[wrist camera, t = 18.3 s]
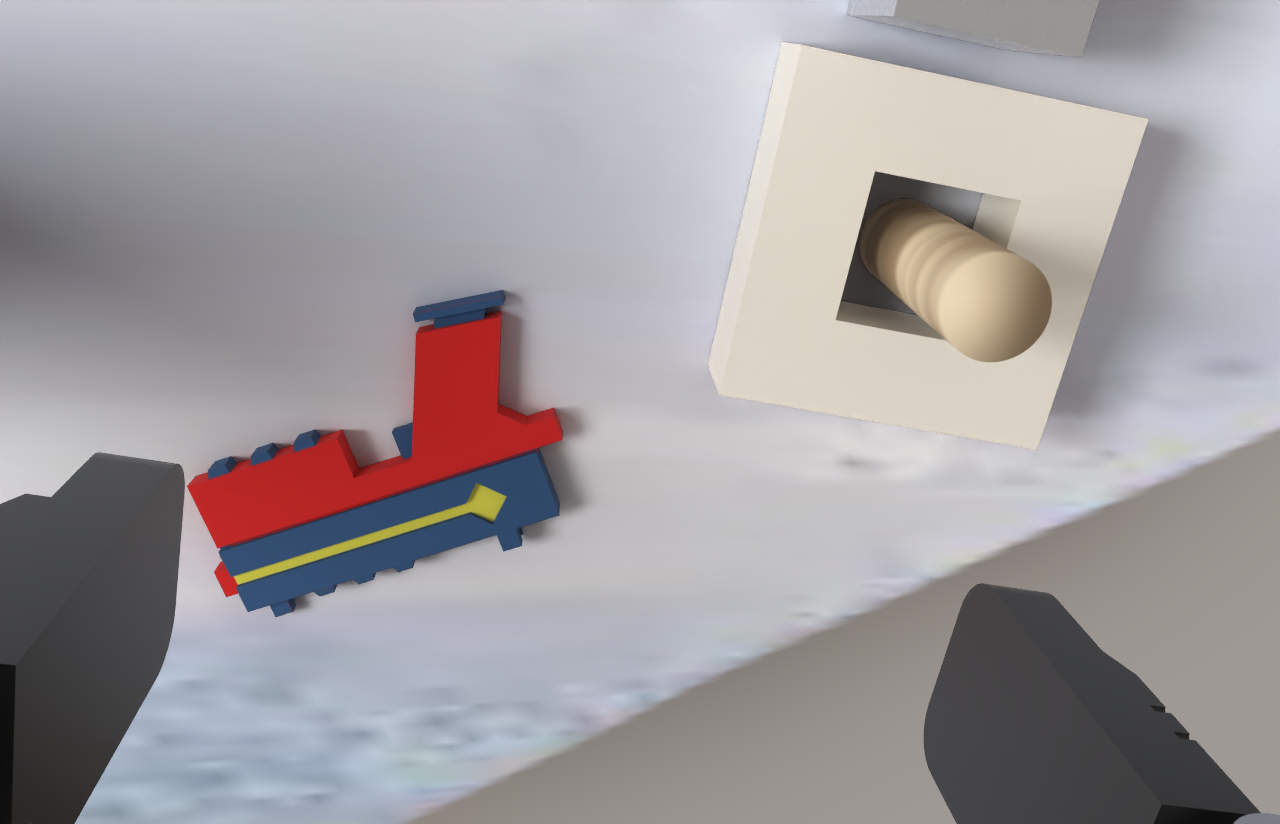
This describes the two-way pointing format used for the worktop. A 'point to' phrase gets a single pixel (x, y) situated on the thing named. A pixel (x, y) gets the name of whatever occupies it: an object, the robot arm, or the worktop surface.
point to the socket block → (830, 222)
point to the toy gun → (387, 478)
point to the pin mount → (992, 21)
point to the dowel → (957, 280)
